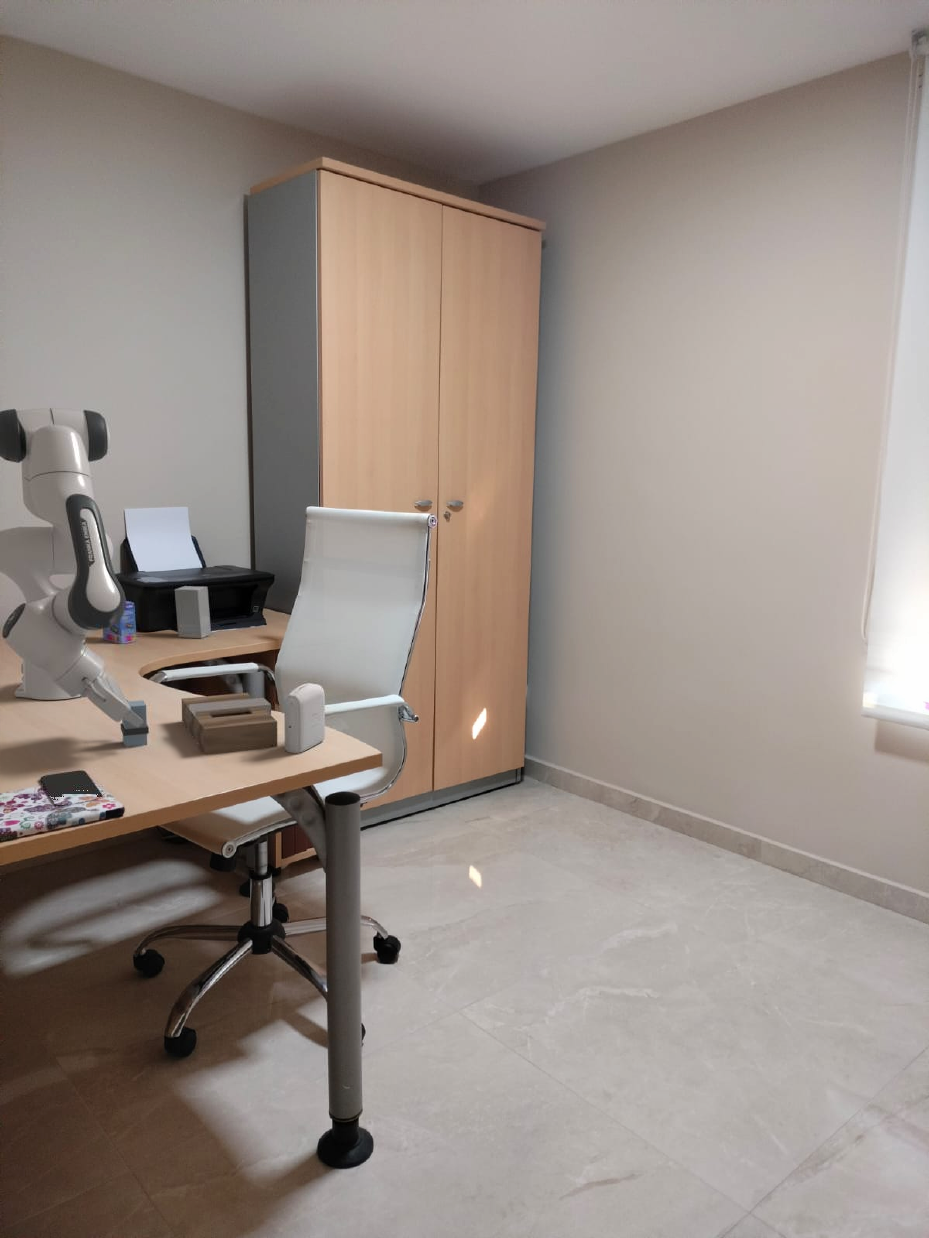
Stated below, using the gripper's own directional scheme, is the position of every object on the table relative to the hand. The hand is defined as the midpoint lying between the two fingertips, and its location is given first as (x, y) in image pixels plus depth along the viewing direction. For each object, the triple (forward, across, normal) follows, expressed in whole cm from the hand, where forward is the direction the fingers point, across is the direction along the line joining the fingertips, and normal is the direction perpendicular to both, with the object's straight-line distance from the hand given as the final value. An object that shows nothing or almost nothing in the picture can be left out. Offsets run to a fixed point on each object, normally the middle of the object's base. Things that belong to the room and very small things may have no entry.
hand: (137, 718), depth 176 cm
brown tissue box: (+16, 0, -9) cm, 18 cm away
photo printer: (+24, -14, -17) cm, 33 cm away
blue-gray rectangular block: (+3, 0, +4) cm, 5 cm away
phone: (-6, -22, +14) cm, 26 cm away
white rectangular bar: (+15, 0, -11) cm, 18 cm away
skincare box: (+25, +107, -18) cm, 111 cm away
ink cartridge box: (+10, +107, -2) cm, 107 cm away
